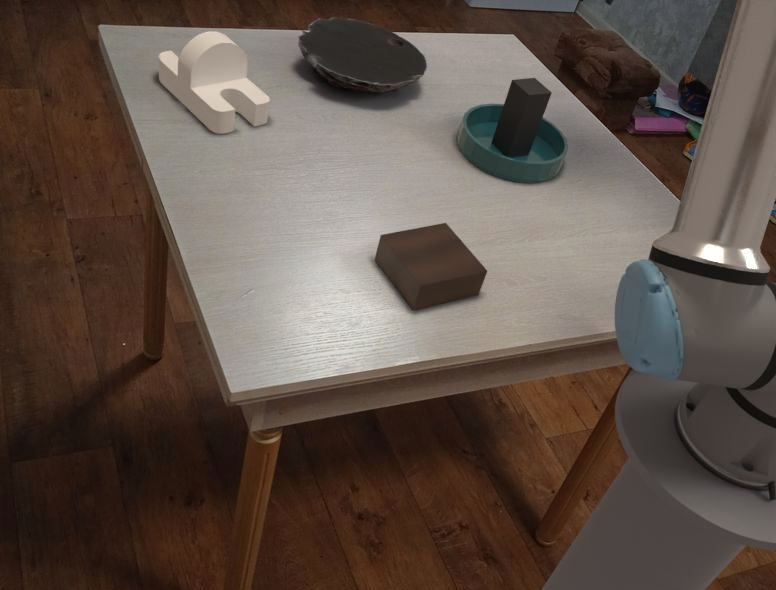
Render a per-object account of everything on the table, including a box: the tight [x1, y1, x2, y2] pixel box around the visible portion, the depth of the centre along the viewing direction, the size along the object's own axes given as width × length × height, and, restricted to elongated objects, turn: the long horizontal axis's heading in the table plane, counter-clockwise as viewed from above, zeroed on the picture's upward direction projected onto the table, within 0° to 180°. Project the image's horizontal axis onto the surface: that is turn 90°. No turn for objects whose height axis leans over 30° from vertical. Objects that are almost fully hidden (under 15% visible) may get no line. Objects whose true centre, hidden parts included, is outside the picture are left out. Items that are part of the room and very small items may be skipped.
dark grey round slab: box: [297, 16, 428, 93], centre depth 139 cm, size 22×22×5 cm
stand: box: [374, 222, 488, 311], centre depth 105 cm, size 10×10×4 cm
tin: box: [456, 103, 569, 184], centre depth 132 cm, size 17×17×4 cm
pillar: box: [492, 77, 553, 157], centre depth 129 cm, size 4×4×11 cm
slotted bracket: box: [158, 30, 271, 135], centre depth 122 cm, size 18×10×10 cm, turn 40°
